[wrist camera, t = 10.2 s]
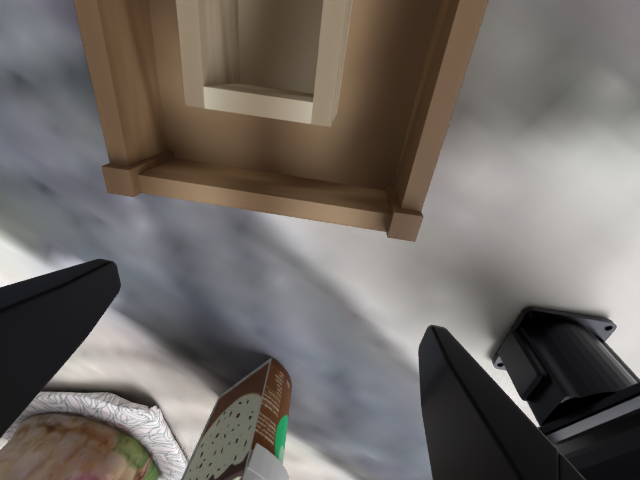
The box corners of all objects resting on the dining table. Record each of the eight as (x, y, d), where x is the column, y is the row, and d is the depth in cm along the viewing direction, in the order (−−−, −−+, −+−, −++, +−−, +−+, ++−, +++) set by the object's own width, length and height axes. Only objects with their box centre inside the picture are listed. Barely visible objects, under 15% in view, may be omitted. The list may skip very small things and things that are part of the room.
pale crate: (361, -61, 13) (364, -128, 9) (336, 112, 16) (330, 126, 12) (225, -79, 13) (161, -152, 9) (229, 96, 17) (185, 105, 12)
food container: (256, 427, 34) (222, 548, 26) (211, 401, 33) (159, 521, 24) (330, 383, 29) (319, 516, 20) (281, 349, 27) (247, 478, 19)
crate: (521, -222, 11) (628, -411, 7) (401, 203, 19) (414, 241, 15) (100, -269, 12) (-54, -476, 7) (161, 166, 20) (107, 192, 16)
